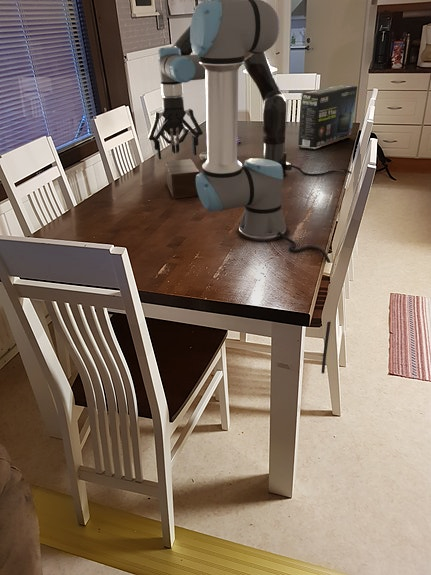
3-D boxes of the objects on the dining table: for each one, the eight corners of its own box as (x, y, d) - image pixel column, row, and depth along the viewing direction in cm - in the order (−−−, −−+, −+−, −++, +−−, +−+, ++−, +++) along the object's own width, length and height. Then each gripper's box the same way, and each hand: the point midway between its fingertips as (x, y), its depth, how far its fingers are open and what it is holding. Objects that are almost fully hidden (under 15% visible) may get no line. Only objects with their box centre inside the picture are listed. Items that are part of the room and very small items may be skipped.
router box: (314, 151, 231) (318, 94, 217) (296, 148, 237) (299, 92, 224) (352, 138, 251) (358, 85, 238) (335, 135, 258) (340, 83, 245)
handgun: (220, 136, 265) (220, 133, 264) (233, 135, 266) (233, 132, 265) (227, 145, 248) (227, 141, 247) (241, 143, 249) (241, 140, 248)
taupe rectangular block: (167, 184, 195) (164, 161, 190) (192, 181, 197) (190, 159, 192) (173, 198, 180) (171, 174, 175) (200, 195, 182) (199, 171, 177)
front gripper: (203, 92, 168) (206, 150, 179) (136, 97, 163) (143, 157, 174) (209, 95, 162) (211, 155, 173) (139, 100, 157) (146, 162, 168)
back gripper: (186, 107, 190) (189, 149, 199) (154, 109, 188) (158, 152, 197) (190, 110, 184) (192, 153, 193) (156, 112, 181) (161, 156, 190)
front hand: (177, 156), depth 174 cm, fingers open, 13 cm apart
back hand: (175, 152), depth 195 cm, fingers closed
